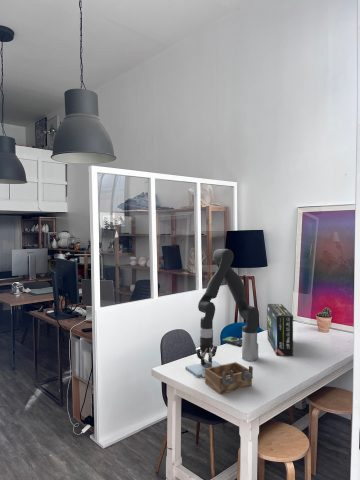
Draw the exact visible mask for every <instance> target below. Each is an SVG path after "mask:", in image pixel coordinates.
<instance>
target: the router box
mask: <svg viewBox="0 0 360 480" xmlns="http://www.w3.org/2000/svg"><path fill="white" fill-rule="evenodd" d="M266 313H267V340H268V343H269V345H270V346H271V348H272V349H273V352H274V353H275V355H276V356H280V357H281V356H282V357H289V356H290V357H291V356H292V357H293V356H294V315H293V314H292V313H291V312H290V311H289V310H288V309H287V308H286V307H285V306H284V305H283V304H281V303H267V308H266Z"/></svg>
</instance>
